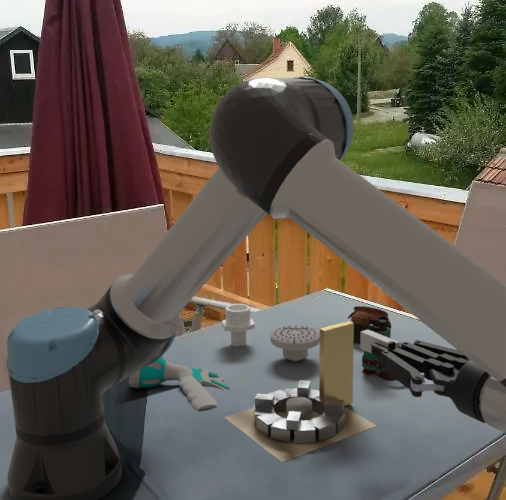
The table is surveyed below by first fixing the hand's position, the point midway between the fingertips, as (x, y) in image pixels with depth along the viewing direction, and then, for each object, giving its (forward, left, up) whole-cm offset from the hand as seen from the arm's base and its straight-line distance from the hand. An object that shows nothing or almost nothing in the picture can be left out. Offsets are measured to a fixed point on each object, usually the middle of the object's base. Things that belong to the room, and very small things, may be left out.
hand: (364, 339), depth 99 cm
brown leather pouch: (+28, +28, -16) cm, 43 cm away
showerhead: (+7, +27, -16) cm, 32 cm away
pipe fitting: (+4, +43, -16) cm, 46 cm away
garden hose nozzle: (-16, +29, -16) cm, 37 cm away
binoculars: (+18, +13, -16) cm, 27 cm away
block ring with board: (-5, +7, -14) cm, 16 cm away
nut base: (-7, +7, -15) cm, 18 cm away
